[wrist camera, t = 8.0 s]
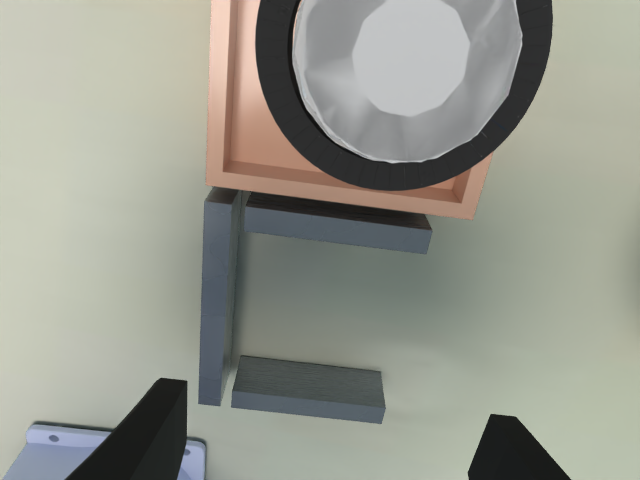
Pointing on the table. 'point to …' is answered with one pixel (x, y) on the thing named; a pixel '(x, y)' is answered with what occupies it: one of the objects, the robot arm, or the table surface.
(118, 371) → the table surface
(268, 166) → the tray
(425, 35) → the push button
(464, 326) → the table surface
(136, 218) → the table surface
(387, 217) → the bracket
